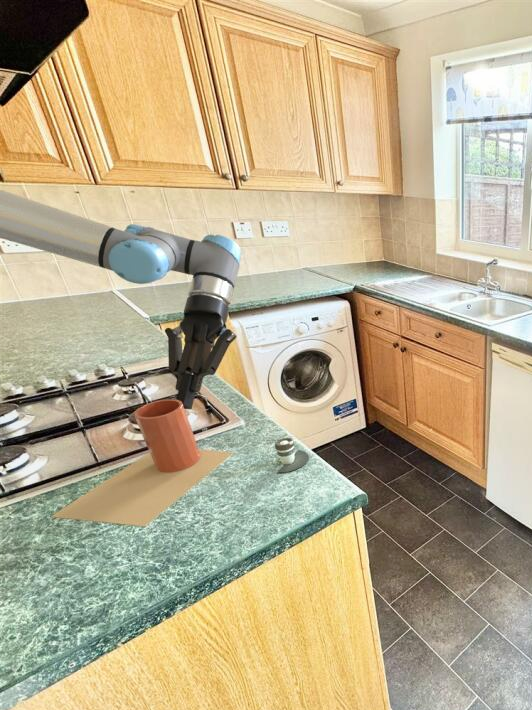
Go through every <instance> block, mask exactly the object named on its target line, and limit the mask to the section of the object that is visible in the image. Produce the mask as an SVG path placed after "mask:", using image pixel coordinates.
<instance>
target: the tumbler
mask: <svg viewBox="0 0 532 710" xmlns="http://www.w3.org/2000/svg"><path fill="white" fill-rule="evenodd" d="M133 417H134V420H136V421H135V422H136V423H137V426H138V428H139V430H140V433H141V435H142V438H143V441H144V443H145V445H146V447H147V450H148V453H149V452H150V454H151V457H152V459H153V461H154V464H155V466H156V468H157V469H158V470H159V471H161V472H175V471H180V470H183V469H186V468H188V467H190V466H192V465H193V464H195V463H196V462H197V461H198V460H199V459H200V456H201V455H200V452H199V449H200V448H199V446H198V444H197V440H196V437H195V435H194V432H193V429H192V426H191V424H190V421H189V418H188V415H187V412H186V409H184V406H183V403H182V402H181V401H179V400H176V399H173V398H168V399H167V398H166V399H159V400H155V401H152V402H149V403H146V404H144V405H142V406H140V407H138V408H136V410H135V411H134V412H133Z"/></svg>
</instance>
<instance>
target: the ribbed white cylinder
mask: <svg viewBox="0 0 532 710" xmlns="http://www.w3.org/2000/svg"><path fill="white" fill-rule="evenodd" d="M274 449H275V450H276V453H277V455H278V459H279V460H280V462H281V464H283V465H282V467H281V468H280V469H278V470H277V472H276V473H278V474H285V473H290V472H294V471H296V470H299V469H300V468H302V467H303V466H305V465H306V464H307V463H308V461H309V459H310V455H309V454H308V453H307V452H306V451H304V450H301V449H298V450H297V451H295V442H294V440H293V439H292V438H291V437H283V438H280V439H278V440H276V441H275V443H274Z"/></svg>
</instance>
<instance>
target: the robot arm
mask: <svg viewBox="0 0 532 710" xmlns="http://www.w3.org/2000/svg"><path fill="white" fill-rule="evenodd" d="M0 239H2V240H5V241H8V242H11V243H16V244H20V245H22V246H27V247H30V248H33V249H37V250H40V251H44V252H47V253H50V254H54V255H56V256H57V255H58V256H61V257H63V258H67V259H72V260H75V261H78V262H82V263H85V264H87V265H92V266H96V267H99V268H102V269H105V270H109V271H112V272H114V274H116V276H118V277H120V278H121V279H122V280H124V281H126V282H129V283H133V284H137V285H146V284H150V283H151V284H152V283H154V282H156V281H157V282H158V281H159V280H162V279H163V278H164V277H166V276H167V274H168V273H169V272H170V271H172V272H177V273H181V274H184V275H188V276H192V279H191V283H190V286H189V288H188V289H189V290H188V293H187V296H188V297H187V298H186V301H185V305H184V309H183V319H181V321H180V322H179V325H178V326H175V327H173V328H171V327H166V328H165V329H164V332H165V333H164V334H165V335H166V337H167V344H168V345H167V347H168V349H167V350H168V353H167V354H168V356H167V357H168V370H169V371H170V372H172V373H174V374H176V375H177V378H176V379H177V380H176V383H175V387H174V388H175V390H176V391H177V394H176V395H177V396H176V399H175V400H179V401H181V402H182V403H183V406H184V409H185V410H192V409H193V405H194V401H195V397H196V393H199V392H200V391H201V389H202V385H203V380H204V378H205V377H207V376H214V375H216V373H217V370H218V368H219V367H220V364H221V363H222V360H223V359H224V357H225V354H226V353H227V351H228V349H229V347H230V345H231V344H232V343H233V342H234V341H235V340H236V339H237V337H238V336H237V334H235V332H233V331H232V330H231V329H229V328H227V324H226V323H227V321H228V317H229V314H230V306H231V303H232V300H233V295H234V290H235V286H236V282H237V278H238V274H239V270H240V266H241V265H240V264H241V256H242V250H241V248H240V246H239V245H238V244H237V242H236V241H234V240H233V239H231V238H229V237H227V236H224V235H221V234H216V235H215V234H206V235H205V236H204V237H203V238H202V240H200V241H199V240H194V239H191V238H190V239H189V238H187V237H183V236H180V235H176V234H173V233H169V232H166V231H162V230H159V229H156V228H154V227H151V226H143V225H139V224H135V223H134V224H133V223H132V224H128V225H127V226H126V228H125V229H124V230H122V229H118V228H115V227H113V226H110V225H107V224H104V223H101V222H98V221H96V220H92V219H89V218H86V217H84V216H81V215H77V214H74V213H72V212H68V211H66V210H63V209H59V208H56V207H54V206H50V205H49V204H48V205H47V204H44V203H42V202H38V201H35V200H32V199H30V198H27V197H23V196H20V195H18V194H15V193H12V192H9V191H5V190H2V189H0ZM183 335H184V336H183ZM183 337H184V339H183ZM182 339H183V340H182ZM183 341H184V346H183Z"/></svg>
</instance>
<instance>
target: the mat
mask: <svg viewBox="0 0 532 710" xmlns="http://www.w3.org/2000/svg"><path fill="white" fill-rule="evenodd" d="M198 449H199V452H200V455H201V456H200V459H199V460H198V461H197V462H196V463H195V464H193V465H192V466H190V467H188V468H186V469H183V470H180V471H175V472H161V471H159V470H158V469H157V468H156V466H155V464H154V461H153V459H152V457H151V454H150V452H149V451H148V452H147V453H146V454H144V455H143V456H142V457H140V458H138V459H137V460H134V462H131V464H129V465H128V466H125V468H123V469H121V470H120V471H119V472H117V473H115V474H113V475H112V476H110V477H109V478H108V479H106V480H104V481H103V482H101V483H100V484H98V485H97V486H96V487H95V486H94V488H92V489H91V490H89V491H87V492H86V493H84V494H83V495H81V496H80V497H79V498H77V499H75V500H74V501H72V502H71V503H69V504H68V505H66V506H65V507H63V508H61V509H60V510H58V511H57V512H56V513H54V514H53V515H51V516H50V518H58V519H68V520H76V521H85V522H86V521H87V522H96V523H97V522H98V523H104V524H106V523H107V524H114V525H115V524H116V525H123V526H125V525H126V526H134V527H146V526H148V525H149V524H150V523H152V521H154V520H155V519H156V518H157V517H159V516H160V515H161V514H162V513H163V512H165V511H166V510H167V509H168V508H170V507H171V506H172V505H173V504H174V503H176V502H177V501H178V500H179V499H180V498H181V497H183V496H184V495H185V494H187V492H189V491H190V490H191V489H192V488H193V487H195V486H196V485H197V484H198V483H200V481H202V480H203V479H204V478H206V477H207V476H208V475H210V473H211V472H213V471H214V470H215V469H217V468H218V467H219V466H220V465H221V464H222V463H223V462H225V461H226V460H227V459H229V458H230V457H231V456H232V455H234V454H235V452H233V451H222V450H211V449H201V448H198Z"/></svg>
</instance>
